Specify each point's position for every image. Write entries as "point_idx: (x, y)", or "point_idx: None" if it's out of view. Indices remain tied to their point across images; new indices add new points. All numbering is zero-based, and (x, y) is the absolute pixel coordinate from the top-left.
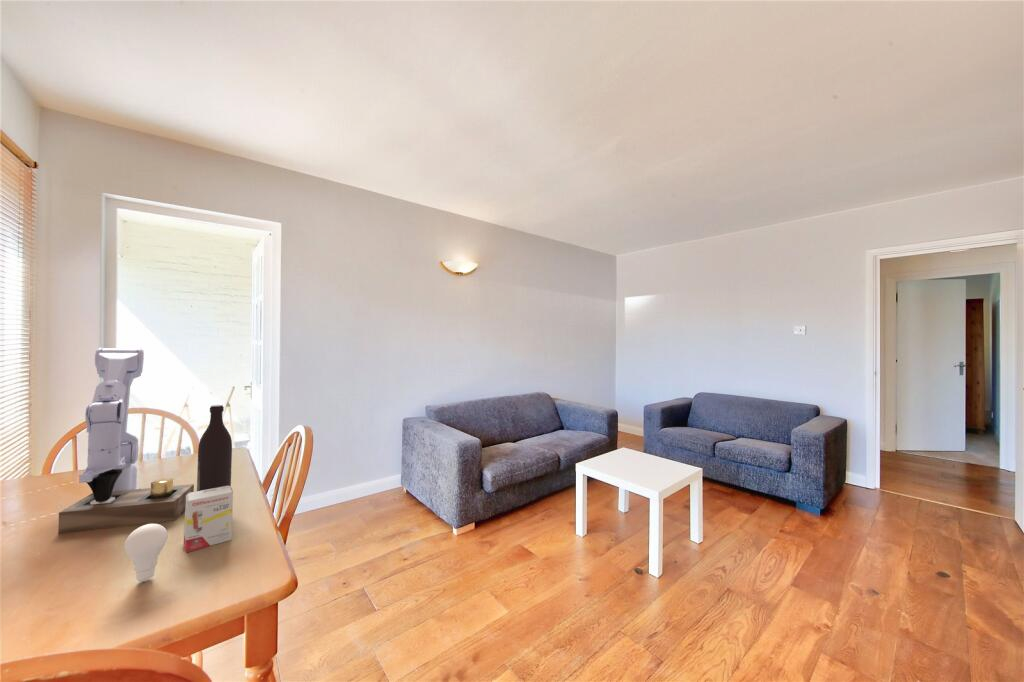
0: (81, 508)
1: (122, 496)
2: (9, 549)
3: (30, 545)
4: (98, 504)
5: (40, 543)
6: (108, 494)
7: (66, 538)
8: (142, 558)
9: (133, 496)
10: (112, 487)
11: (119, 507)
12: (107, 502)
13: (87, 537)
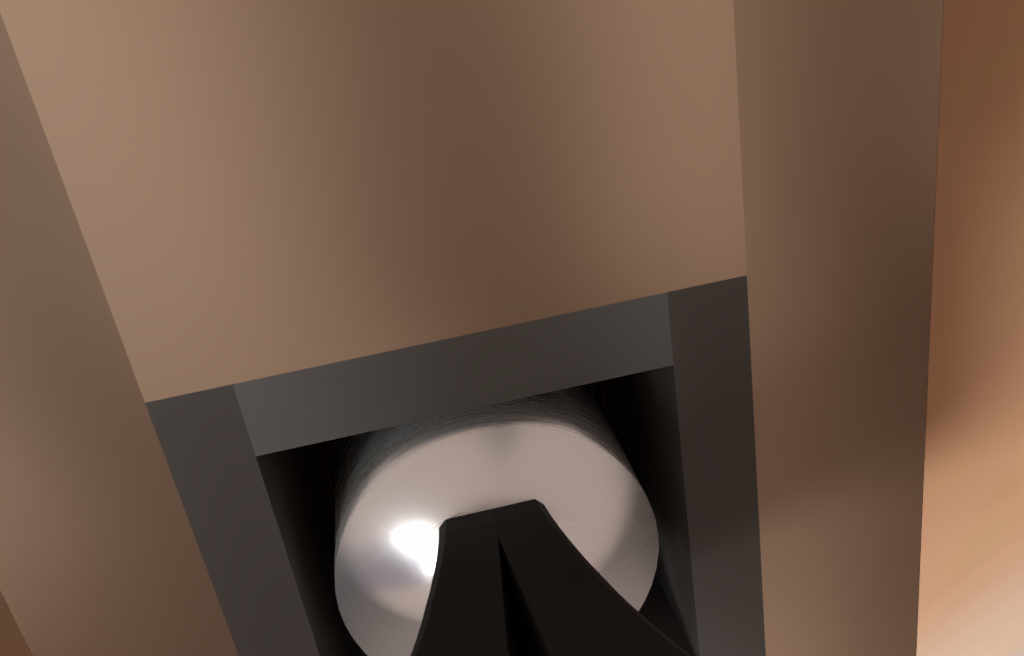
0: (838, 588)
1: (363, 374)
2: (1015, 647)
3: (992, 559)
4: (718, 483)
5: (978, 513)
6: (559, 550)
7: (939, 371)
8: None
9: (385, 145)
10: (466, 646)
11: (924, 30)
12: (593, 436)
13: (993, 162)
